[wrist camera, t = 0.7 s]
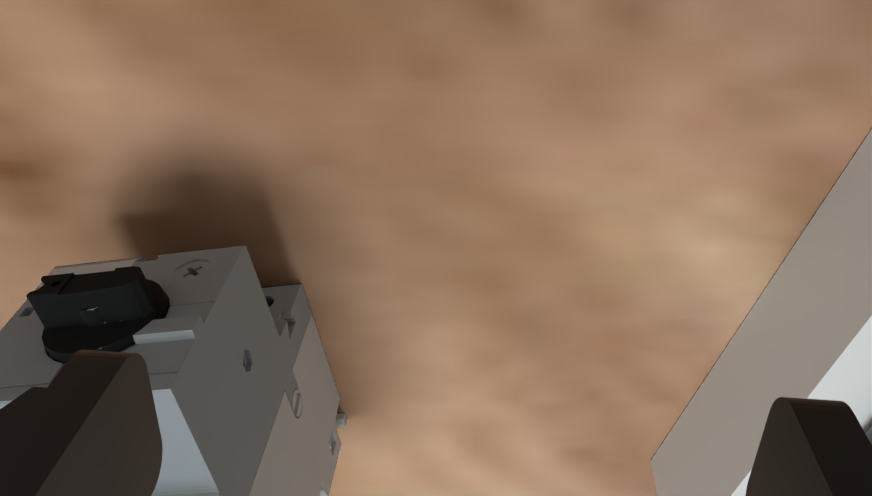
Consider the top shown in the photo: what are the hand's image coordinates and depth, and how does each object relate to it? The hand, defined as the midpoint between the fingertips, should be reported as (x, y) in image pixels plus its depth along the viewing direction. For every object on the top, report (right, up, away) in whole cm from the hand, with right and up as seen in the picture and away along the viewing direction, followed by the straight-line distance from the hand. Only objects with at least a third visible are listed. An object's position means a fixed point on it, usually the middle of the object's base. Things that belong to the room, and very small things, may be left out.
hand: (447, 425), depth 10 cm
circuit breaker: (-9, 0, +25) cm, 27 cm away
